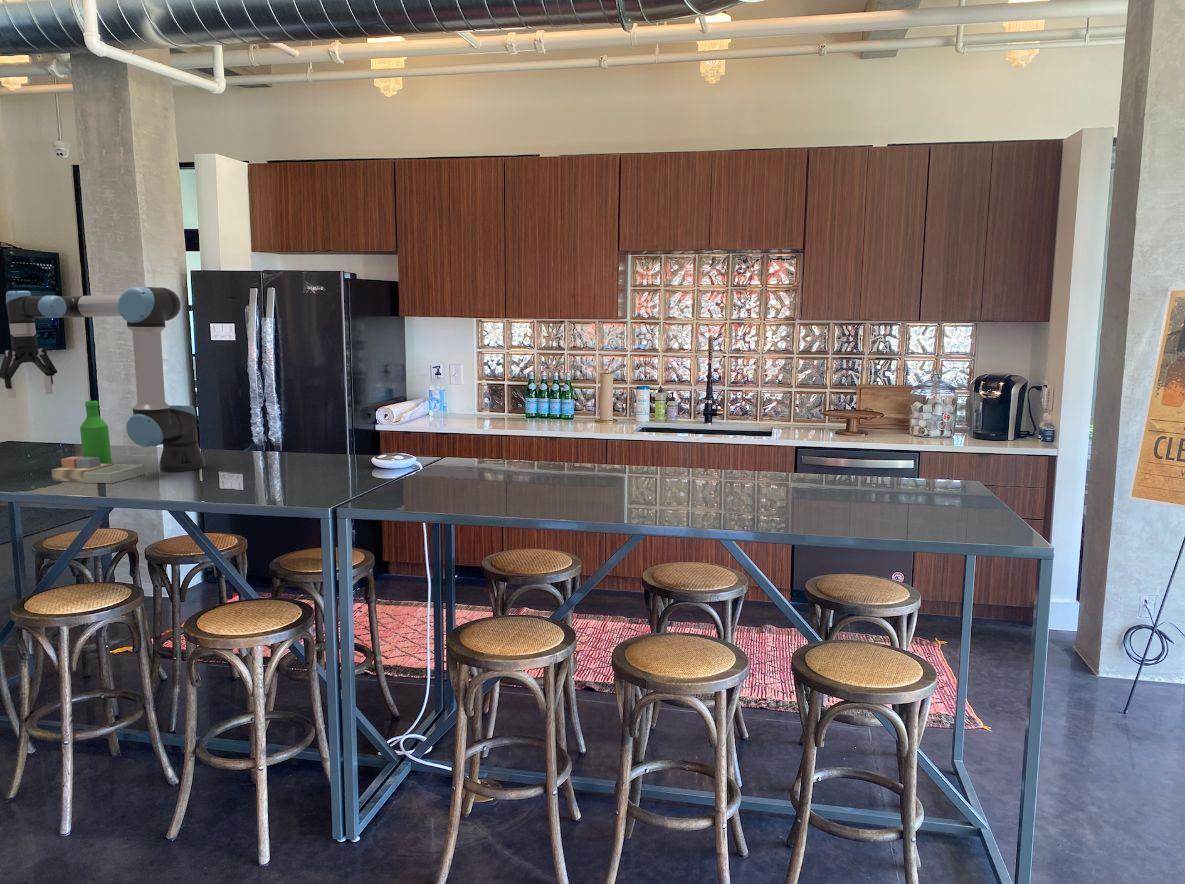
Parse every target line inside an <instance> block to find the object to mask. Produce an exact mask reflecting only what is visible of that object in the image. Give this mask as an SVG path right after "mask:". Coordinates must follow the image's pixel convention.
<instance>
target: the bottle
mask: <svg viewBox="0 0 1185 884" xmlns="http://www.w3.org/2000/svg"><path fill="white" fill-rule="evenodd" d="M99 405H100V404H99V402H98V400H87V401H85V402H84V406H85V413H86V417H85V419H84V421H83V422H82V424H81V425H80V427H79V430H80V439H81V448H82V449H81V451H82V457H100V464H113V462H112V451H111V442H110V432H109V425H108V424H107V423H106V422H105V421H104V420H103V419H102V417H101V416H100V412H99Z"/></svg>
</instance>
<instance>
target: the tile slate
mask: <svg viewBox="0 0 1185 884" xmlns="http://www.w3.org/2000/svg"><path fill="white" fill-rule="evenodd" d="M76 463H77V468H93V467H97V466H101V464H100V457H85V458H80V459H76Z"/></svg>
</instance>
